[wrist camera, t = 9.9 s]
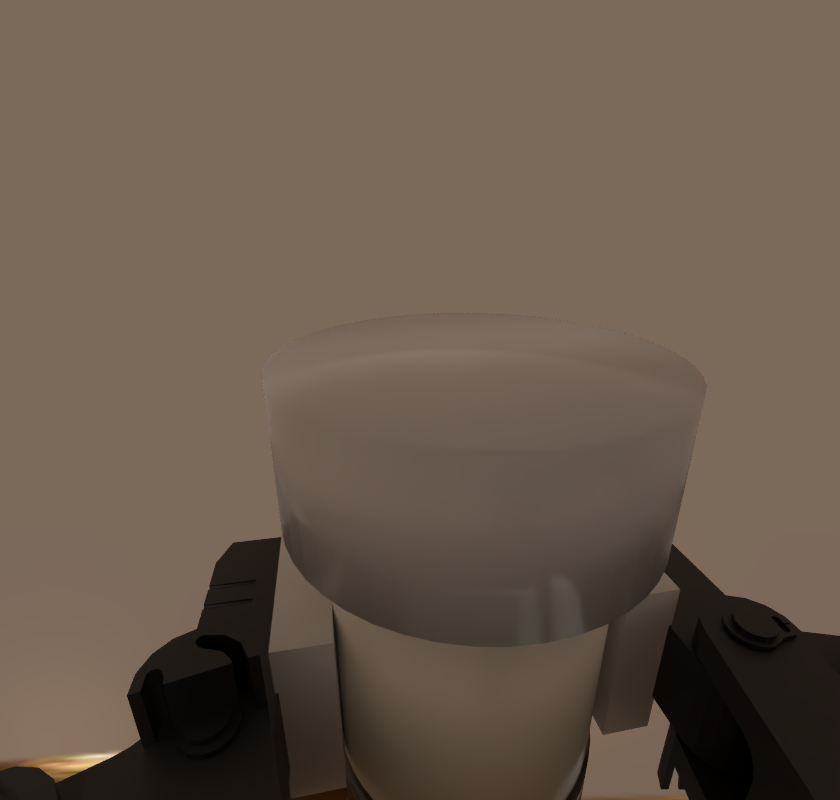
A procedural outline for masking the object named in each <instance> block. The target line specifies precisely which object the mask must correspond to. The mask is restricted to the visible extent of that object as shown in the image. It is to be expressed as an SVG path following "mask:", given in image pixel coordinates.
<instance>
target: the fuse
mask: <svg viewBox="0 0 840 800" xmlns="http://www.w3.org/2000/svg"><path fill="white" fill-rule="evenodd" d="M262 381H263V390H264V397H265V405H266V413H267V420H268V428H269V436H270V444H271V451H272V458H273V466H274V474H275V482H276V490H277V498H278V506H279V513H280V521H281V529H282V534H283V538H284V543H285V547H286V549H287V551H288V553H289V555H290V557H291V559H292V562H293V563H294V565H295V566H296V567H297V569H298V570H299V571H300V573H301V574H302V575H303V577H304V578H305V579H306V580H307V581H308V582H309V583H310V584H311V585H312V586H313V587H314V588H315V589H316V590H318V591H319V592H320V593H321V594H322V595H323V596H324V597H326V598H327V599H329V600H330V601H331V602H332V609H333V620H334V631H335V642H336V653H337V665H338V676H339V687H340V698H341V709H342V720H343V731H344V743H345V765H346V786H347V787H346V788H345V790H346V795H347V798H348V800H581V795H582V789H583V784H584V778H585V773H586V768H587V762H588V756H589V746H590V724H591V719H592V714H593V708H594V703H595V697H596V692H597V686H598V680H599V675H600V669H601V664H602V658H603V653H604V647H605V642H606V636H607V630H608V625H609V623H610V622H612V621H614V620H615V619H617V618H619V617H621V616H623V615H624V614H626V613H628V612H629V611H631V610H632V609H633V608H634V607H635V606H637V605H638V604H639V603H640V602H642V601H643V600H644V599H645V598H646V597H647V596H648V595H649V594H650V592H651V591H652V590H653V589H654V587H655V586H656V585H657V584H658V583H659V581H660V579H661V577H662V575H663V573H664V571H665V569H666V566H667V563H668V559H669V555H670V550H671V546H672V541H673V537H674V532H675V528H676V523H677V519H678V514H679V510H680V505H681V501H682V496H683V492H684V488H685V483H686V479H687V474H688V470H689V465H690V461H691V457H692V452H693V447H694V442H695V439H696V434H697V429H698V425H699V421H700V416H701V412H702V408H703V402H704V399H705V393H706V383H705V381H704V377H703V376H702V374H701V373H700V372H699V370H698V369H697V368H696V367H695V366H694V365H693V364H691V363H690V362H689V361H688V360H686V359H685V358H683V357H682V356H680V355H678V354H677V353H675V352H673V351H671V350H669V349H667V348H665V347H663V346H661V345H658V344H655V343H653V342H650V341H648V340H645V339H642V338H639V337H636V336H633V335H629V334H626V333H623V332H619V331H615V330H611V329H607V328H602V327H597V326H593V325H588V324H582V323H576V322H571V321H564V320H557V319H550V318H540V317H532V316H520V315H505V314H484V313H443V314H441V313H440V314H419V315H406V316H395V317H387V318H378V319H371V320H365V321H360V322H354V323H349V324H344V325H340V326H336V327H332V328H328V329H324V330H321V331H318V332H315V333H312V334H309V335H306V336H304V337H301V338H299V339H296V340H294V341H293V342H291V343H288V344H287V345H285V346H283V347H282V348H280V349H279V350H278V351H276V352H275V353H274V354H273V355H272V356H271V357H270V358H269V359H268V360H267V362H266V363H265V365H264V367H263V372H262Z"/></svg>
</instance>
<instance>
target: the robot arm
mask: <svg viewBox="0 0 840 800" xmlns="http://www.w3.org/2000/svg"><path fill="white" fill-rule="evenodd" d="M127 697H128V700H129V704H130V707H131V710H132V713H133V716H134V719H135V723H136V726H137V729H138V732H139V735H140V738H141V739H140V740H139V741H138V742H136V743H135V744H134V745H132V746H131V747H129V748H128V749H126V750H124V751H122V752H120V753H119V754H117V755H115V756H113V757H111V758H109V759H107V760H105V761H103V762H101V763H99V764H96V765H94V766H92V767H90V768H88V769H86V770H83V771H81V772H79V773H77V774H75V775H73V776H71V777H68V778H66V779H64V780H62V781H60V782H58V783H55V782H54V779H53V778H52V777H50V776H49V775H48V774H46V773H45V772H44V771H42V770H41V769H40V768H35V767H16V766H15V767H12V768H8V769H5V770H2V771H0V800H288V798H289V786H290V793H291V799H292V798H297V797H302V796H307V795H312V794H316V793H321V792H326V791H331V790H336V789H341V788H346V787H347V786H346V765H345V743H344V731H343V720H342V709H341V698H340V687H339V676H338V665H337V653H336V642H335V631H334V620H333V609H332V602H331V601H330V600H329V599H327V598H326V597H324V596H323V595H322V594H321V593H320V592H319V591H318V590H316V589H315V588H314V587H313V586H312V585H311V584H310V583H309V582H308V581H307V580H306V579H305V578H304V577H303V575H302V574H301V573H300V571H299V570H298V569H297V567H296V566H295V565H294V563H293V562H292V559H291V557H290V555H289V553H288V551H287V549H286V547H285V543H284V538H283V534H282V537H279V538H270V539H261V540H253V541H244V542H236V543H233V544H232V545H231V546H230V547H229V548H228V550H227V551H226V552H225V553H224V554H223V556H222V557H221V558H220V559H219V560H218V561H217V562H216V565H215V568H214V572H213V576H212V579H211V582H210V590H208V593H207V596H206V600H205V603H204V610H202V613H201V617H200V620H199V624H198V627H197V629H196V630H194V631H191V632H188V633H186V634H184V635H181V636H179V637H176V638H174V639H172V640H171V641H170V642H168V643H167V644H165V645H164V646H163V647H161V648H160V649H158V650H157V651H156V652H154V653H153V654H152V655H151V656H150V657H149V658H148V659H147V661H146V662H145V663H144V664H143V666H142V667H141V668H140V669H139V670H138V671H137V673H136V674H135V677H134V679H133V682H132V684H131V687H130V689H129V692H128V694H127ZM654 699H655V701H656V702H657V704H658V705H659V707H660V708H661V710H662V711H663V713H664V714H665V716H666V717H667V719H668V720H669V722H670V726H669V730H668V733H667V737H666V740H665V745H664V748H663V752H662V755H661V759H660V764H659V768H658V772H657V773H658V778H659V783H660V787H661V789H669V785H670V782H671V778H672V774H673V771H674V768H676V771H677V773H678V775H679V778H678V788H679V789H685V791H686V793H687V796H688V798H689V800H840V636H835V635H826V634H817V633H809V632H801V631H800V630H799V629H798V628H797V627H796V626H795V625H794V624H792V623H791V622H790V621H789V620H788V619H787V618H786V617H784V616H783V615H781V614H779V613H778V612H776V611H774V610H772V609H771V608H769V607H767V606H765V605H763V604H760V603H757V602H754V601H752V600H749V599H746V598H740V597H733V596H726V595H724V593H723V592H721V591H720V590H719V589H718V588H717V587H716V586H715V585H714V584H713V583H712V582H711V581H710V580H709V579H708V578H707V577H706V576H705V575H704V574H703V573H702V572H701V571H700V570H699V569H698V568H697V567H696V566H695V565H694V564H693V563H692V562H690V561H689V560H688V559H687V558H686V557H685V556H684V555H683V554H682V553H681V552H680V551H679V550H678V549H677V548H676V547H675V546H674V545H673V544H672V546H671V550H670V555H669V559H668V563H667V566H666V569H665V571H664V573H663V575H662V577H661V579H660V581H659V583H658V584H657V585H656V586H655V587H654V589H653V590H652V591H651V592H650V594H649V595H648V596H647V597H646V598H645V599H644V600H643V601H642V602H640V603H639V604H638V605H637V606H635V607H634V608H633V609H632V610H631V611H629V612H628V613H626V614H624V615H623V616H621V617H619V618H617V619H615V620H614V621H612V622H610V623H609V625H608V630H607V636H606V642H605V647H604V653H603V658H602V664H601V669H600V675H599V680H598V686H597V692H596V697H595V703H594V708H593V714H592V715H593V717H594V719H595V721H596V722H597V724H598V726H599V728H600V730H601V732H602V734H603V735H605V734H610V733H615V732H620V731H625V730H629V729H634V728H639V727H643V726H647V725H648V721H649V716H650V713H651V709H652V704H653V700H654Z"/></svg>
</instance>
